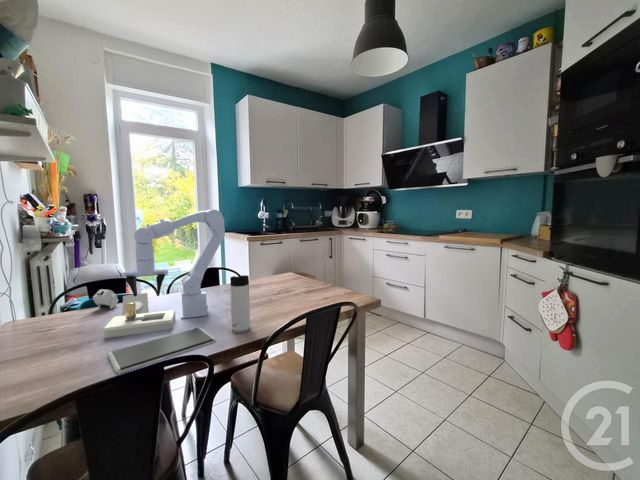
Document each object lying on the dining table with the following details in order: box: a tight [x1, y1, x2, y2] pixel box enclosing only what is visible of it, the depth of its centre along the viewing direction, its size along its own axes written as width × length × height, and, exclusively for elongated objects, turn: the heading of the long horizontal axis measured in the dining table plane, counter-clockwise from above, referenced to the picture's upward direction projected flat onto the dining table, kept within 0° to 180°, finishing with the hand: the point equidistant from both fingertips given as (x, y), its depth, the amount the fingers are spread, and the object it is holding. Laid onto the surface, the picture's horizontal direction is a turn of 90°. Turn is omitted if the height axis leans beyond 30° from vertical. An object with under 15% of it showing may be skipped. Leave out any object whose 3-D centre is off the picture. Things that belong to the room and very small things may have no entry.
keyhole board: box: [103, 309, 176, 339], centre depth 103 cm, size 20×11×4 cm, turn 111°
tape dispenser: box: [92, 288, 119, 310], centre depth 124 cm, size 6×7×10 cm
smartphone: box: [107, 327, 217, 374], centre depth 88 cm, size 13×27×2 cm, turn 135°
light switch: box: [121, 292, 150, 316], centre depth 114 cm, size 8×6×14 cm
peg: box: [125, 302, 136, 321], centre depth 102 cm, size 5×5×10 cm
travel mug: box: [229, 275, 251, 334], centre depth 100 cm, size 6×7×20 cm
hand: (147, 294), depth 108 cm, fingers open, 7 cm apart
